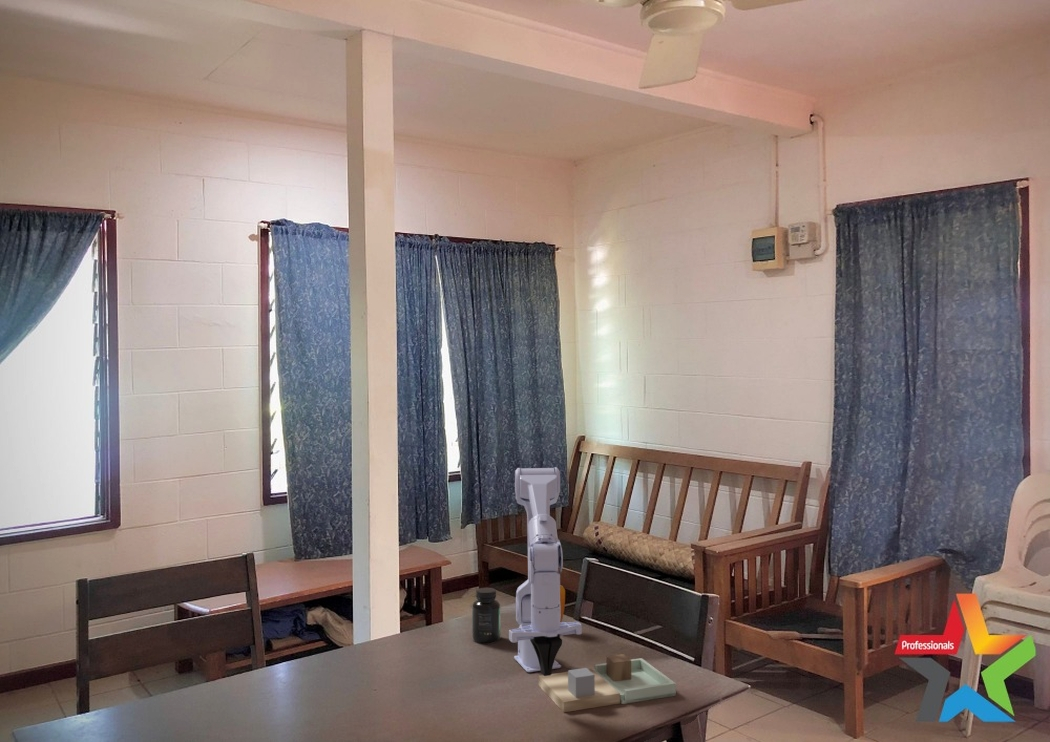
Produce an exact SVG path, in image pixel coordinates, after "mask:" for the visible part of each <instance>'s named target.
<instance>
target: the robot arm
mask: <svg viewBox="0 0 1050 742" xmlns="http://www.w3.org/2000/svg"><path fill="white" fill-rule="evenodd" d="M514 491H515V492H514V493H515V501H516V504H518V505H520V506H523V507H524V509H525V512H526V515H527V516H526V517H527V518H526V522H527V525H526V526H527V580H525V581H524V582H523V583H522V584H520V585H519V586H518V587H517V589H516V592H515V620H516V623H517V624H518V625H519V626H518V627H517V628H513V629H509V630H508V640H509V641H510V642H511V643H513V644H514V643H517V655H514V657H513V659H514V660H515V661H516V662H517V663H518V665H520V666H521V667H522V668H523V670H525V672H527V673H533V672H540V673H541V675H544V676H549V675H551V674H552V671H553V670H554V669H555V670H556V669H560V668H562V664H559V662H558V661H557V660H555V659H556V657H557V654H558V652H559V651H560V648H561V647H562V645H563V639H562V638H561V636H567V635H573V634H574V635H577V636H578V635H582V634H583V633H582V631H583V629H582V628H583V625H582V624H581V623H580V621H569V622H568V621H566V622H565V621H561V622H560V618H561V605H560V585H561V573H562V571H563V566H564V562H563V561H564V560H563V559H564V557H563V548H562V544H561V541H560V539H559V538H558V531H557V527H558V526H557V522H556V519H554V518H553V517H552V516H551V513H550V512H551V511H550V508H551V507H550V506H551V505H555V504H557V501H558V499H559V496H560V493H561V471H560V470H559V468H558V467H556V466H555V467H548V468H547V467H541V468H540V467H537V468H536V467H535V468H534V467H533V468H531V467H527V468H521V467H517V468H516V470H514Z"/></svg>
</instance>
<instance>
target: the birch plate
mask: <svg viewBox="0 0 1050 742" xmlns="http://www.w3.org/2000/svg"><path fill="white" fill-rule="evenodd" d="M587 669H588V670H589V671H591V672H592V673H593V674H594V675H595V695H591V696H585V697H578V698H576V697H575V696H574V695H572V694H571V693H570V692H569V691H568V671H565V672H558V673H551V675H549V676H544V675H543V674H541V675H538V687H540V688H541V690H542V691H543V692H544V693H545V694H546V696H548V697H549V698H550V700H552V701H553V702H554V704H555V705H556V706H557V707H558V708H559V709H560V710H561V712H563V713H567V712H573V711H580V710H587V709H593V708H600V707H606V706H611V705H612V706H613V705H619V704H621V703H620V693H619V692H618V691H616V690H615V689H614V688H613V687H612V686H611V685H610V684H608V683H607V682H606V681H605V680H604V679H603V678H602V677H600V676H599V675H598V674H597V673H596V672H595V670H594V669H592V668H587Z"/></svg>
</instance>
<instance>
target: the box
mask: <svg viewBox="0 0 1050 742" xmlns="http://www.w3.org/2000/svg"><path fill="white" fill-rule="evenodd" d="M630 660H631V679H630V680H622V681H613V680H612V679H611V678H609V677H608V676H607V667H606V662H605V663H597V664H594V671H595V672H596V673H597V674H598V675H599V676H600V677H602V678H603V679H604V680H605V681H606V682H607V683H608V684H610V685H611V686H612V687H613V688H614V689H615V690H616V691H618V692H619V693H620V703H619V704H622V705H627V704H632V703H638V702H645V701H650V700H657V699H663V698H670V697H675V696H676V695H677V683H676V682H675V681H673V680H672V679H671V678H669V677H668V676H667V675H666V674H664V673H662V671H660V670H658V669H657V668H656V667H654V666H653V665H652V664H650V663H649V662H648V661H647V660H645V659H644V658H642V657H641V658H640V657H639V658H632V659H630Z"/></svg>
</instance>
